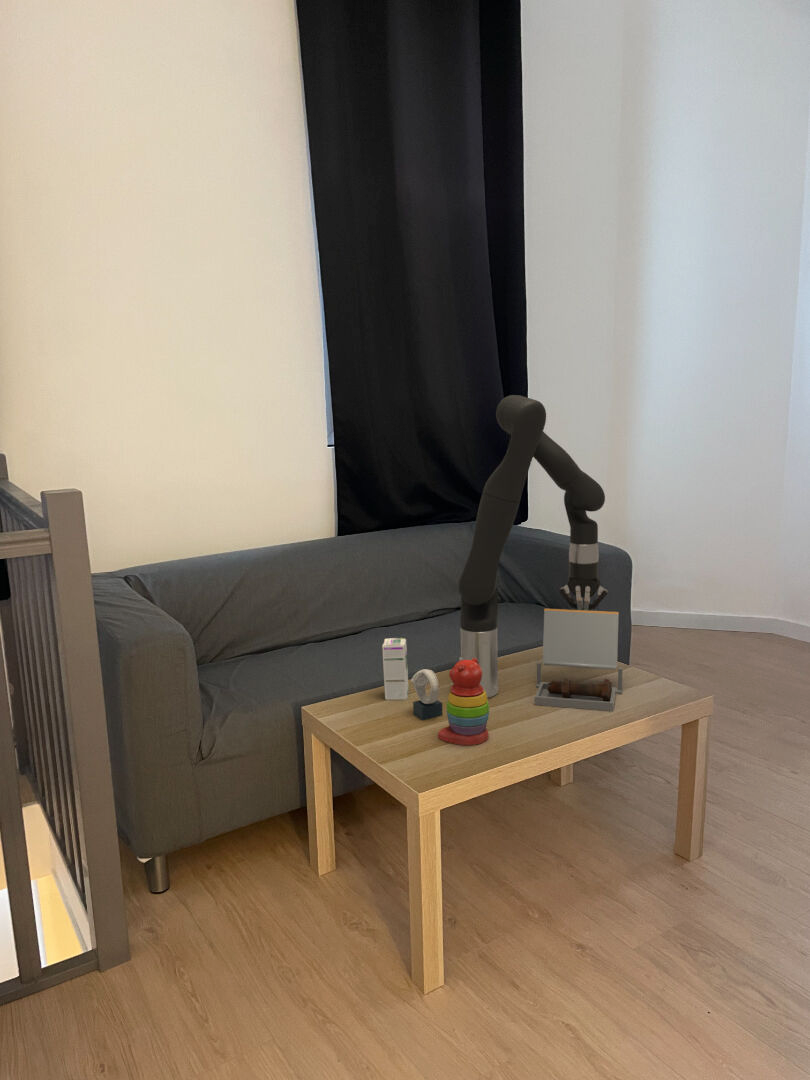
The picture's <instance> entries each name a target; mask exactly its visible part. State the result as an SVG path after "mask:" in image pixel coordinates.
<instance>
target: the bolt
mask: <svg viewBox="0 0 810 1080" xmlns="http://www.w3.org/2000/svg"><path fill="white" fill-rule="evenodd" d="M549 682H550V683H548V685H550V686H549V687H548V692H549V693H551V694H562V697H563V698H570V697H571V695H578V696H580V695H581V696H592V697H594V696H595V697H598V698H602V699H603V701H605V702H610V698H611V687H612V682H611V680H610V679H608V678H604V679H603V681H602V683H600V682H598V683H590V682H589V683H588V682H572V679H571V678H567V677H564V678H563V679H562V680H560V681H557V680H551V681H549Z"/></svg>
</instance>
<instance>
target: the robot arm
mask: <svg viewBox="0 0 810 1080" xmlns="http://www.w3.org/2000/svg"><path fill="white" fill-rule="evenodd" d="M495 416H496V417H495V418H496V421H497V424H498V425H499V428H501V429H502V430H503V431H504V432H506V433H507V434H509V436H510V439H509V443H508V447H507V450H506V454H505V455H504V457H503V459H502V461H501V462H500V464H499V465H498V466H497V467H496V469H494V471H493V472H492V473H491V474H490V476H489V477H488V479H487V481H486V482H485V485H484V487H483V489H482V490H483V491H482V493H481V497H480V501H479V505H478V510H477V515H476V519H475V525H474V532H473V538H472V544H471V549H470V551H469V554H468V556H467V560H466V563H465V564H464V569H463V570H462V573H461V574H460V576H459V580H458V583H457V584H458V585H457V587H458V592H459V594H460V596H461V597H460V602H461V604H460V615H459V617H460V618H459V620H460V621H459V622H460V623H459V625H460V627H459V628H460V630H459V631H460V656H459V658H458V662H459V661H461V660H472V659H473V658H476V659H477V660H478V665H479V666H480V667H481V670H482V678H481V681H480V685H481V686H482V687H483V689H484V690H485V692H486V695H487V699H488V698H491V697H494V696H496V695H497V694H498V693H499V679H498V678H499V671H498V670H499V667H498V666H499V665H498V662H499V661H498V614H499V613H498V612H499V610H498V607H499V603H498V601H499V599H498V597H499V590H498V589H499V588H498V587H499V586H498V581H499V580H498V576H497V575H498V569H499V563H500V560H501V555H502V552H503V549H504V547H505V545H506V543H507V541H508V538H509V535H510V533H511V531H512V528H513V525H514V522H515V519H516V517H517V514H518V510H519V506H520V504H521V499H522V494H523V491H524V487H525V483H526V480H527V476H528V473H529V470H530V467H531V464H532V460H533V458H534V460H536V461H537V463H538V464H539V465H540V466H541V468H542V469H544V471H545V472H546V474H548V476H549V478H550V479H551V480H552V481H553V482H554V484H555V485H556V486H557V487H558V488H559V489H560V490H563V491H564V494H563V503H564V509H565V512H566V516H567V520H568V523H569V527H570V530H569V532H570V533H569V536H570V537H569V541H570V542H569V548H568V549H569V550H568V580H567V582H566V585H564V586H562V587H560V589H559V592H558V593H559V594H560V595H561V596H562V597H563V599H564V600H565V601H566V603H567V604H568V605H569V606H570V608H572V609H575V610H586V611H591V610H594V609H596V608H597V606H598V605H599V604H600V603H601V602H602V600H603V599H604V598H606V597H607V595H608V589H607V588H604V587H603V586H601V582H600V580H599V558H600V554H599V541H598V540H599V538H598V537H599V529H598V523H597V521H595V520H594V519H592V518H590V517H589V516H588V514H587V512H590V513H591V512H596V511H599V510H601V508H603V506H604V504H605V502H606V495H605V492H604V489H603V488H602V486H601V485H600V484H599V483H598V482H597V481H596V480H595V479H594V478H592V476H590V475H588V474H587V473H586V472H584V471H583V470H581V468H580V467H579V466H578V464H577V463H576V462H575V460H574V459H573V458H572V456H570V454H569V453H568V452H567V451H566V450H565V449H564V448H563V447H562V446H561V445H559V444H558V443H557V442H555V440H554V439H552V438H551V437H550V436H549V435H548V434H547V433H546V432H545V431H544V429H545V426H546V422H547V411H546V408H545V406H544V404H543V403H542V402H541V401H538V400H537V399H533V398H530V397H526V396H523V395H519V394H518V395H516V394H511V395H508V396H506V397H504V398H502V399H501V401H500V402H499V403H498V405H497V407H496V411H495ZM570 591H571V593H572V594H573V595H574V596H575V597H576V598H575V599H576V601H575V599H574V598H573V597H572V595H571V594H570ZM596 592H597V597H596V598H595V599H594V600H593V601H592V602H591V598H592V597H593V596H594V595H595V593H596ZM583 598H584V600H583ZM583 601H584V602H583ZM583 603H584V604H583Z"/></svg>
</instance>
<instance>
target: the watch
mask: <svg viewBox="0 0 810 1080" xmlns="http://www.w3.org/2000/svg"><path fill="white" fill-rule="evenodd" d="M410 681H411V683H412V684H413V688H414V690H415V692H416V695H417V697H418V698H419V700H416V701H413V702H412V706H413V707H412V711H413V712H412V713H413V716H415V717H417V718H419V719H420V720H421V721H424V720H425V721H426V720H429V719H433V718H437V717H441V716H443V702H442V701H440V700H438V699H439V695H440V685H439V680H438V678H437V675H436V673H435V672H434V671H433V670H432V669H426V668H425V669H420V670H419V671H417V672H415V674H414V675H413V676H412V677H411V679H410ZM428 683H429V685H430V691H429V693H427V691H426V688H427V686H428ZM428 694H429V695H428Z"/></svg>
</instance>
